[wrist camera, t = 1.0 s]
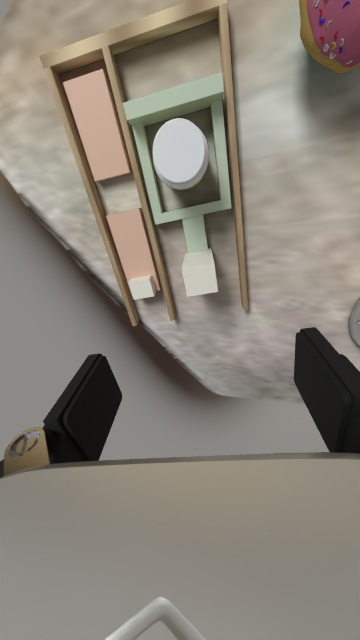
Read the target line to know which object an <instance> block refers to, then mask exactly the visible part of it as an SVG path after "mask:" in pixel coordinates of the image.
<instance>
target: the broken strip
mask: <svg viewBox="0 0 360 640" xmlns="http://www.w3.org/2000/svg"><path fill="white" fill-rule="evenodd" d="M63 85H64V88H65V91H66V94H67V97H68V100H69V103H70V106H71V109H72V112H73V115H74V118H75V122H76V125H77V128H78V131H79V134H80V137H81V140H82V143H83V146H84V149H85V152H86V156H87V159H88V162H89V165H90V168H91V171H92V174H93V177H94V180H95V181H97V182H99V181H103V180H107V179H111V178H115V177H119V176H123V175H126V174H130V173H132V172H131V168H130V164H129V160H128V156H127V152H126V148H125V144H124V140H123V136H122V132H121V128H120V124H119V121H118V117H117V113H116V109H115V105H114V101H113V97H112V93H111V89H110V85H109V81H108V77H107V74H106V72H105V71H104V70H103V69H100V70H97V71H94V72H91V73H88V74H86V75H83V76H80V77H77V78H74V79H71V80H68V81H65V82H63ZM106 217H107V220H108V223H109V227H110V230H111V233H112V236H113V239H114V242H115V245H116V248H117V251H118V254H119V257H120V260H121V264H122V267H123V270H124V273H125V276H126V279H127V282H128V285H129V288H130V291H131V294H132V296H133V299H134V300H135V299H141V298H148V297H154V296H155V294H156V291H159V290H160V289H161V285H160V281H159V277H158V273H157V270H156V266H155V262H154V258H153V254H152V250H151V246H150V242H149V238H148V234H147V230H146V226H145V222H144V219H143V215H142V211H141V208H138V209H134V210H129V211H125V212H121V213H116V214H112V215H108V216H106Z"/></svg>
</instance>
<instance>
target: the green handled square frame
mask: <svg viewBox="0 0 360 640" xmlns="http://www.w3.org/2000/svg"><path fill="white" fill-rule="evenodd" d="M223 93H224V88H223V76H222V72H220V73H216V74H213V75H210V76H207V77H204V78H201V79H197V80H194V81H191V82H188V83H185V84H181V85H178V86H175V87H172V88H169V89H165V90H162V91H159V92H156V93H153V94H150V95H146V96H143V97H140V98H137V99H134V100H130V101H127V102H124V103H123V107H124V111H125V115H126V119H127V121H128V122H129V123H130V124H131V125H132V128H133V132H134V136H135V141H136V145H137V149H138V153H139V158H140V162H141V166H142V170H143V175H144V179H145V183H146V187H147V192H148V196H149V200H150V204H151V209H152V213H153V217H154V221H155V225H156V224H161V223H166V222H170V221H175V220H179V219H182V222H183V227H184V233H185V238H186V244H187V249H188V253H185V257H184V262H183V266H182V273H183V278H184V283H185V288H186V293H187V297H189V296H195V295H201V294H207V293H214V292H218V287H217V280H216V272H215V264H214V259H213V255H212V250H211V248H209V249H208V246H207V239H206V232H205V225H204V218H203V214H207V213H212V212H217V211H221V210H226V209H230V208H231V197H230V186H229V174H228V163H227V152H226V140H225V129H224V117H223V106H222V97H223ZM209 107H210V109H211V118H212V127H213V137H214V146H215V156H216V165H217V174H218V184H219V193H220V200H218V201H213V202H209V203H204V204H200V205H195V206H191V207H186V208H182V209H177V210H173V211H168V212H164V213H163V210H162V205H161V200H160V196H159V191H158V186H157V182H156V177H155V172H154V168H153V163H152V158H151V154H150V149H149V145H148V140H147V135H146V131H145V126H147V125H150V124H154V123H157V122H161V121H164V120H168V119H171V118H175V117H178V116H181V115H185V114H188V113H192V112H195V111H199V110H202V109H205V108H209Z"/></svg>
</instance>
